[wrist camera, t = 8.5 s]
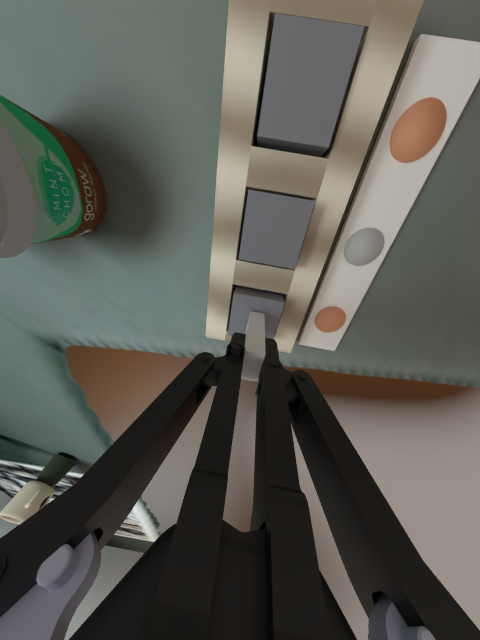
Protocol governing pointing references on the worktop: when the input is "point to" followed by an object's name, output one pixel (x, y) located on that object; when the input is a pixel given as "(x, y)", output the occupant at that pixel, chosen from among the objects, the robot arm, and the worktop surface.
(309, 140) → the button
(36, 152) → the food container
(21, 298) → the worktop surface
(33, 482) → the character mug
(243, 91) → the button board
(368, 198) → the pattern card
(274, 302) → the button
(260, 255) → the middle button
